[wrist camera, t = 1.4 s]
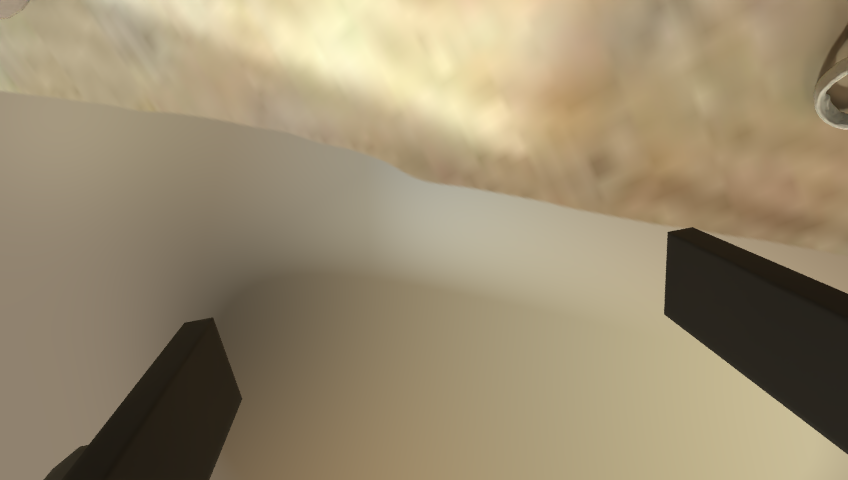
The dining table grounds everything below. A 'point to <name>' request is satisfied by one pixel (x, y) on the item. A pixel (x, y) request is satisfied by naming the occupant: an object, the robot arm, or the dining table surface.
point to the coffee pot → (11, 7)
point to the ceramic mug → (823, 100)
